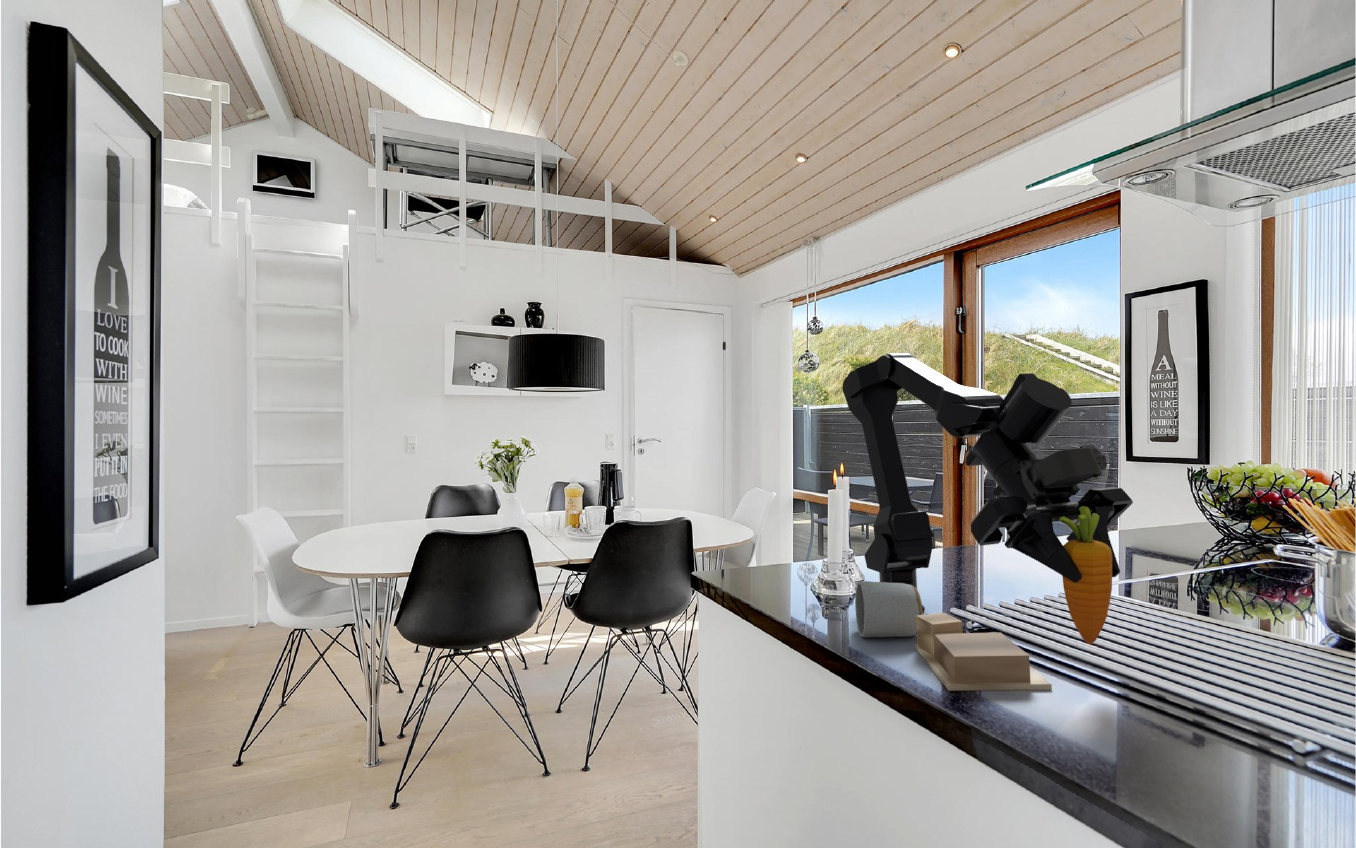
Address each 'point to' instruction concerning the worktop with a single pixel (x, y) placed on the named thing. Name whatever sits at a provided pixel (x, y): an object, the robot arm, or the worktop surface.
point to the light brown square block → (981, 658)
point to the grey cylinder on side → (887, 609)
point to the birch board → (1035, 679)
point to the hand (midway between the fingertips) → (1097, 577)
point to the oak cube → (935, 629)
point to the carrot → (1088, 577)
